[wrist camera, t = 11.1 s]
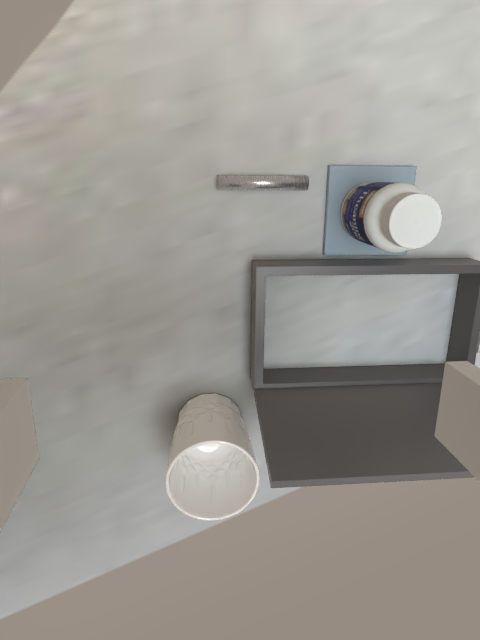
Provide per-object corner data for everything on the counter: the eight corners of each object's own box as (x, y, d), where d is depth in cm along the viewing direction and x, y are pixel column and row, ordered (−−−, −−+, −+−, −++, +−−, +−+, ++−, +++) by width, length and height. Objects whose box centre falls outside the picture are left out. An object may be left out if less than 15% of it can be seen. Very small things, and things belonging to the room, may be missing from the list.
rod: (217, 189, 41) (218, 189, 40) (217, 175, 41) (218, 175, 39) (305, 189, 42) (308, 190, 40) (305, 176, 41) (309, 176, 40)
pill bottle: (340, 182, 41) (381, 183, 32) (397, 180, 42) (455, 181, 32) (337, 242, 43) (376, 260, 33) (393, 240, 43) (447, 257, 34)
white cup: (254, 443, 49) (268, 506, 40) (184, 462, 49) (180, 531, 39) (236, 378, 47) (247, 430, 37) (162, 398, 47) (153, 455, 37)
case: (250, 399, 47) (271, 489, 34) (251, 260, 43) (277, 298, 29) (456, 392, 49) (555, 474, 36) (478, 258, 45) (600, 292, 31)
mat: (322, 254, 44) (324, 255, 43) (328, 165, 41) (330, 165, 41) (403, 253, 44) (406, 254, 44) (413, 166, 42) (416, 166, 41)
